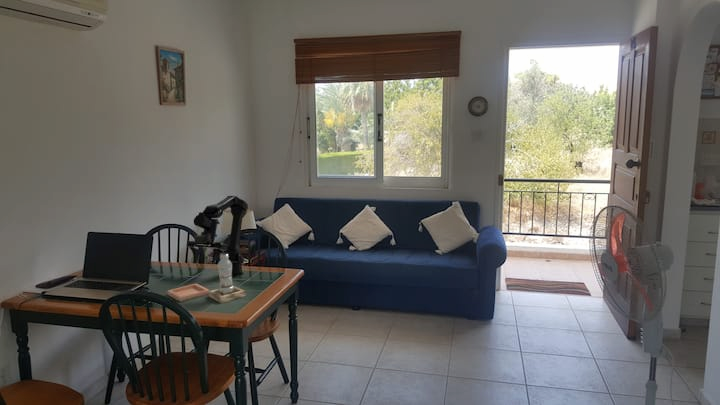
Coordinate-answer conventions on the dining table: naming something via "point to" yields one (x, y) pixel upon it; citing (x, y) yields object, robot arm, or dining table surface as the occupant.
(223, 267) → the plastic bottle
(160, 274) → the dining table surface
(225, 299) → the collar
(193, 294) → the tray
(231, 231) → the robot arm
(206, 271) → the dining table surface
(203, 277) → the dining table surface
